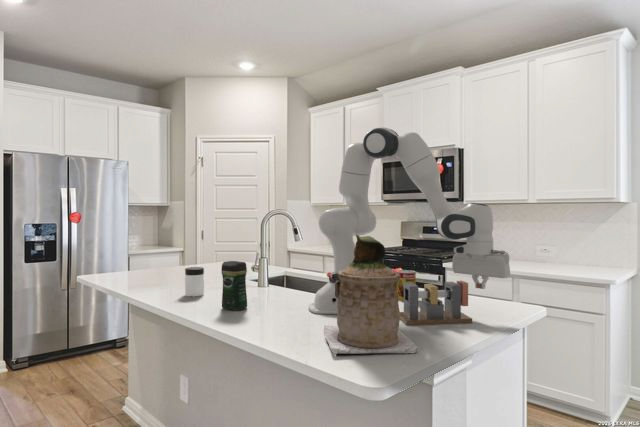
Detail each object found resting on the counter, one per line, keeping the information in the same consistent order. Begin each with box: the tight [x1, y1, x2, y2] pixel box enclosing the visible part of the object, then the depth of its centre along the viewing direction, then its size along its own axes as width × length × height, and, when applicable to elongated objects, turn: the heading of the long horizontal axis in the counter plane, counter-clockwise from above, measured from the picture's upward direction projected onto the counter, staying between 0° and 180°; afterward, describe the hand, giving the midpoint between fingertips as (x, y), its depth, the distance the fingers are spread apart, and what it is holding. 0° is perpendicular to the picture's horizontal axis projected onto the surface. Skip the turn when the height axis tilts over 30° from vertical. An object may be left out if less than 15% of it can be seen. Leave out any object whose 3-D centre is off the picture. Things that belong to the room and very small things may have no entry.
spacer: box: [423, 283, 439, 305], centre depth 156 cm, size 2×6×6 cm, turn 8°
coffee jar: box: [220, 260, 248, 311], centre depth 174 cm, size 10×8×19 cm
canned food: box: [396, 269, 417, 302], centre depth 189 cm, size 8×8×12 cm
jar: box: [184, 266, 205, 298], centre depth 201 cm, size 9×8×12 cm
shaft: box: [418, 280, 469, 307], centre depth 156 cm, size 19×5×8 cm, turn 96°
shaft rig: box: [400, 281, 473, 326], centre depth 156 cm, size 23×12×12 cm, turn 96°
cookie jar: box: [323, 234, 418, 356], centre depth 131 cm, size 25×25×32 cm
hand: (480, 288), depth 157 cm, fingers closed
